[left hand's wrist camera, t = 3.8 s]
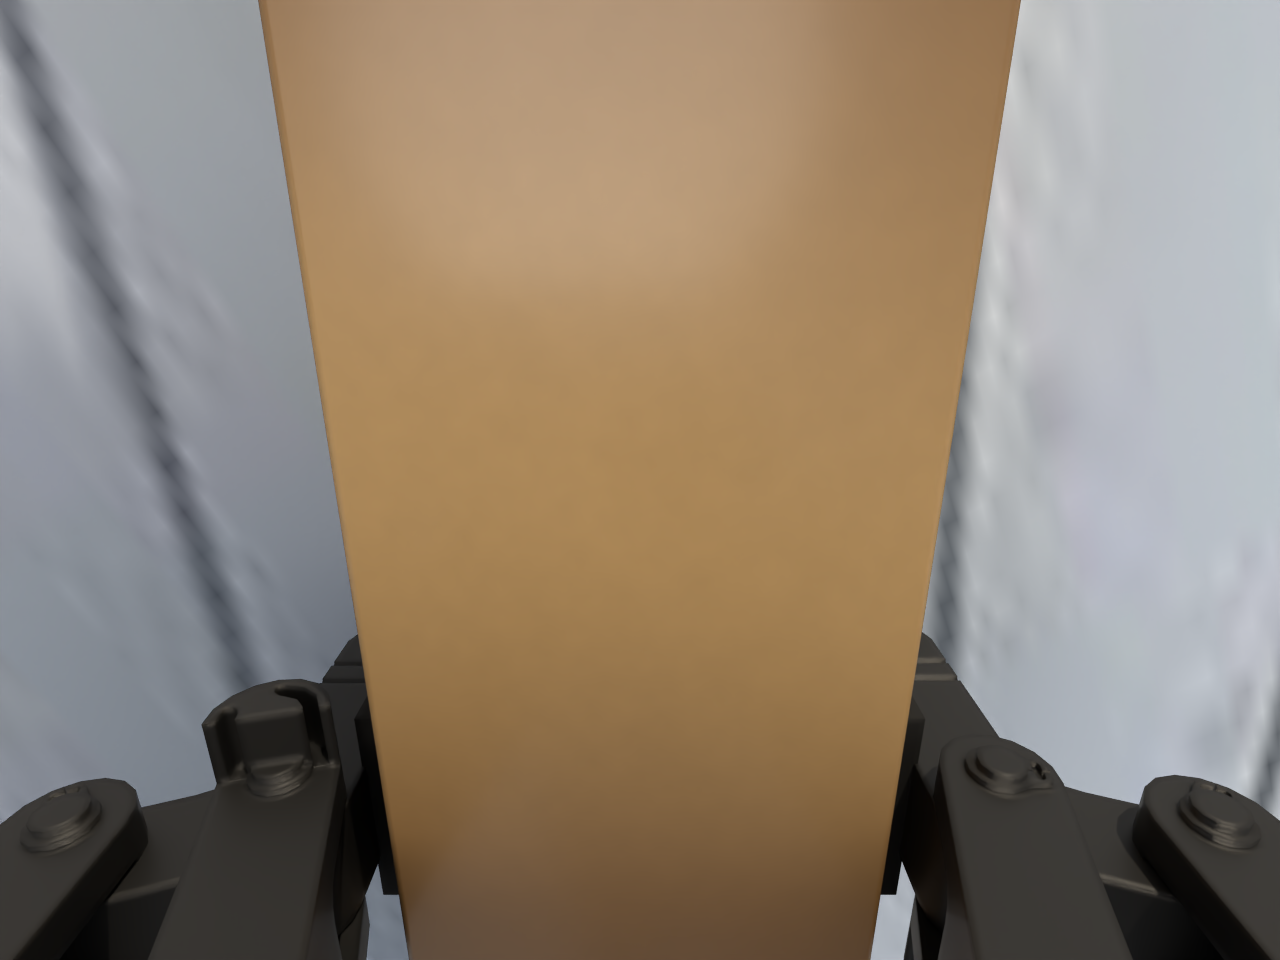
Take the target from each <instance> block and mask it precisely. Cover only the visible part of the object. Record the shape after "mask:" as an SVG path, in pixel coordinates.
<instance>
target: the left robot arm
mask: <svg viewBox="0 0 1280 960" xmlns="http://www.w3.org/2000/svg"><path fill="white" fill-rule="evenodd" d="M202 728H203V732H204V736H205V740H206V743H207V747H208V751H209V755H210V759H211V763H212V767H213V771H214V775H215V778H216V782H217V785H216V787H215V790H212V791H208V792H205V793H201V794H198V795H195V796H190V797H186V798H181V799H177V800H173V801H168V802H164V803H159V804H155V805H151V806H146V807H142V808H141V806H140V802H139V799H138V796H137V793H136V790H135V789H134V788H133V787H131V786H130V785H129V784H128V783H127V782H125V781H122V780H115V779H109V778H102V779H95V780H88V781H81V782H77V783H75V784H72V785H68V786H66V787H62V788H60V789H57V790H54V791H51V792H49V793H48V794H46V795H44V796H42V797H40V798H38V799H36V800H34V801H33V802H31V803H29V804H27V805H25V806H23V807H22V808H21V809H20V810H18V811H17V812H16V813H15V814H13V815H12V816H11V817H9V818H8V819H7V820H6V821H4V822H3V823H2V824H1V825H0V960H366V957H367V947H368V937H369V927H370V923H369V916H368V909H367V903H366V898H365V894H366V892H367V890H368V887H369V885H370V882H371V880H372V877H373V875H374V872H375V870H376V867H377V865H379V871H380V877H381V883H382V889H383V895H399V892H398V886H397V879H396V873H395V866H394V860H393V854H392V847H391V841H390V835H389V828H388V822H387V816H386V809H385V803H384V797H383V790H382V784H381V777H380V771H379V765H378V758H377V752H376V746H375V739H374V733H373V727H372V720H371V714H370V708H369V701H368V695H367V688H366V682H365V676H364V669H363V663H362V657H361V650H360V644H359V638H358V635H356V636H355V637H354V638H352V639H351V640H349V641H348V643H347V644H346V646H345V647H344V648H343V650H342V651H341V653H340V654H339V656H338V657H337V659H336V660H335V662H334V666H331V667H330V669H329V670H328V672H327V673H326V675H325V676H324V678H323V682H322V683H320V684H318V683H315V682H311V681H307V680H303V679H291V680H277V681H273V682H268V683H264V684H260V685H256V686H253V687H251V688H249V689H247V690H244V691H242V692H240V693H237V694H235V695H233V696H231V697H230V698H228V699H227V700H226V701H224V702H223V703H221V704H220V705H219V706H217V707H216V708H214V709H213V710H212V712H211V713H210V714H209V715H208V717H207V718H206V719H205V721H204V722H203V723H202ZM901 862H903V865H904V867H905V870H906V872H907V875H908V877H909V880H910V882H911V885H912V887H913V890H914V892H915V898H914V903H913V909H912V915H911V920H910V926H909V931H908V937H907V942H906V948H905V954H904V960H1280V821H1279V820H1278V819H1277V818H1275V817H1274V816H1273V815H1272V814H1270V813H1269V812H1268V811H1266V810H1265V809H1264V808H1263V807H1261V806H1260V805H1259V804H1257V803H1256V802H1254V801H1252V800H1250V799H1248V798H1246V797H1245V796H1243V795H1241V794H1239V793H1237V792H1235V791H1233V790H1231V789H1229V788H1227V787H1224V786H1221V785H1219V784H1215V783H1213V782H1209V781H1206V780H1203V779H1200V778H1194V777H1186V776H1179V775H1171V776H1164V777H1158V778H1155V779H1154V780H1152V781H1151V782H1150V783H1149V784H1148V785H1146V786H1145V787H1144V791H1143V794H1142V797H1141V800H1140V804H1139V805H1138V804H1134V803H1129V802H1125V801H1121V800H1116V799H1112V798H1107V797H1103V796H1099V795H1094V794H1090V793H1085V792H1082V791H1078V790H1075V789H1072V788H1068V787H1065V786H1064V784H1063V782H1062V780H1061V779H1060V777H1059V776H1058V774H1057V773H1056V771H1055V770H1054V768H1053V767H1052V766H1051V765H1050V764H1048V763H1047V762H1046V761H1045V760H1043V759H1042V758H1041V757H1040V756H1038V755H1037V754H1036V753H1035V752H1033V751H1031V750H1029V749H1027V748H1025V747H1023V746H1021V745H1019V744H1017V743H1015V742H1013V741H1010V740H1006V739H1002V738H999V736H998V735H997V733H996V732H995V730H994V729H993V728H992V726H991V725H990V723H989V722H988V720H987V719H986V717H985V716H984V715H983V713H982V712H981V710H980V709H979V707H978V706H977V704H976V703H975V701H974V700H973V699H972V697H971V696H970V694H969V693H968V691H967V690H966V688H965V687H964V685H963V684H962V683H961V681H958V680H957V675H956V674H955V672H954V671H953V669H952V668H951V667H950V665H949V664H948V663H946V662H945V658H944V656H943V655H942V654H941V652H940V651H939V649H938V648H937V646H936V645H935V643H934V642H933V640H932V639H931V638H929V637H928V636H927V635H925V634H924V633H921V639H920V646H919V652H918V659H917V665H916V671H915V678H914V684H913V690H912V697H911V703H910V710H909V716H908V722H907V729H906V735H905V741H904V748H903V754H902V761H901V767H900V773H899V780H898V786H897V792H896V799H895V805H894V811H893V818H892V824H891V831H890V837H889V843H888V850H887V856H886V862H885V869H884V875H883V882H882V888H881V894H880V895H896V892H897V886H898V880H899V874H900V868H901Z"/></svg>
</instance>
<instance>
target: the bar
mask: <svg viewBox="0 0 1280 960" xmlns="http://www.w3.org/2000/svg"><path fill="white" fill-rule="evenodd" d="M258 2H259V8H260V15H261V21H262V27H263V34H264V40H265V47H266V53H267V59H268V66H269V72H270V78H271V85H272V91H273V97H274V104H275V110H276V116H277V123H278V129H279V135H280V142H281V148H282V155H283V161H284V167H285V174H286V180H287V186H288V193H289V199H290V205H291V212H292V218H293V224H294V231H295V237H296V244H297V250H298V256H299V263H300V269H301V275H302V282H303V288H304V294H305V301H306V307H307V313H308V320H309V326H310V333H311V339H312V345H313V352H314V358H315V364H316V371H317V377H318V383H319V390H320V396H321V402H322V409H323V415H324V422H325V428H326V434H327V441H328V447H329V453H330V460H331V466H332V472H333V479H334V485H335V491H336V498H337V504H338V511H339V517H340V523H341V530H342V536H343V542H344V549H345V555H346V561H347V568H348V574H349V580H350V587H351V593H352V599H353V606H354V612H355V619H356V625H357V631H358V638H359V644H360V650H361V657H362V663H363V669H364V676H365V682H366V688H367V695H368V701H369V708H370V714H371V720H372V727H373V733H374V739H375V746H376V752H377V758H378V765H379V771H380V777H381V784H382V790H383V797H384V803H385V809H386V816H387V822H388V828H389V835H390V841H391V847H392V854H393V860H394V866H395V873H396V879H397V886H398V892H399V898H400V905H401V911H402V917H403V924H404V930H405V936H406V943H407V949H408V955H409V960H870V958H871V952H872V945H873V939H874V933H875V926H876V920H877V913H878V907H879V901H880V894H881V888H882V882H883V875H884V869H885V862H886V856H887V850H888V843H889V837H890V831H891V824H892V818H893V811H894V805H895V799H896V792H897V786H898V780H899V773H900V767H901V761H902V754H903V748H904V741H905V735H906V729H907V722H908V716H909V710H910V703H911V697H912V690H913V684H914V678H915V671H916V665H917V659H918V652H919V646H920V639H921V633H922V627H923V620H924V614H925V608H926V601H927V595H928V588H929V582H930V576H931V569H932V563H933V557H934V550H935V544H936V538H937V531H938V525H939V518H940V512H941V506H942V499H943V493H944V487H945V480H946V474H947V467H948V461H949V455H950V448H951V442H952V436H953V429H954V423H955V416H956V410H957V404H958V397H959V391H960V385H961V378H962V372H963V365H964V359H965V353H966V346H967V340H968V334H969V327H970V321H971V315H972V308H973V302H974V295H975V289H976V283H977V276H978V270H979V264H980V257H981V251H982V244H983V238H984V232H985V225H986V219H987V213H988V206H989V200H990V193H991V187H992V181H993V174H994V168H995V162H996V155H997V149H998V142H999V136H1000V130H1001V123H1002V117H1003V111H1004V104H1005V98H1006V92H1007V85H1008V79H1009V72H1010V66H1011V60H1012V53H1013V47H1014V41H1015V34H1016V28H1017V21H1018V15H1019V9H1020V2H1021V0H258Z"/></svg>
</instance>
